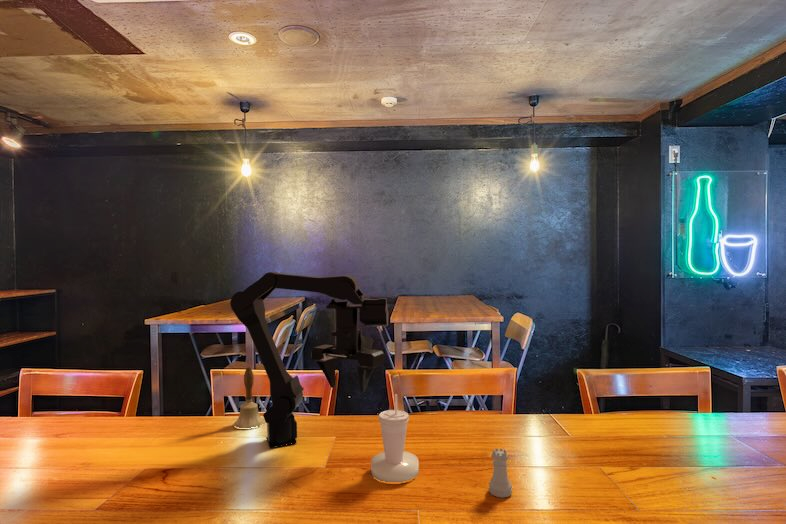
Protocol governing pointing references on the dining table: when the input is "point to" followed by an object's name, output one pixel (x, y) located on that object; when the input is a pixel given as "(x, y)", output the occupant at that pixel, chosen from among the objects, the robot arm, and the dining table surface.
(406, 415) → the smoothie
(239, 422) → the hand bell
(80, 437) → the dining table surface
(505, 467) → the rook chess piece
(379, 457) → the stand
